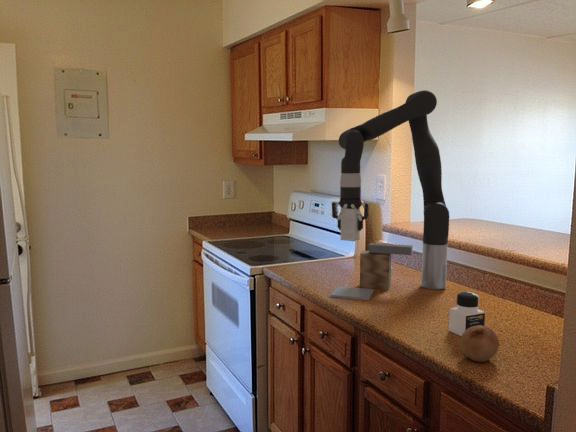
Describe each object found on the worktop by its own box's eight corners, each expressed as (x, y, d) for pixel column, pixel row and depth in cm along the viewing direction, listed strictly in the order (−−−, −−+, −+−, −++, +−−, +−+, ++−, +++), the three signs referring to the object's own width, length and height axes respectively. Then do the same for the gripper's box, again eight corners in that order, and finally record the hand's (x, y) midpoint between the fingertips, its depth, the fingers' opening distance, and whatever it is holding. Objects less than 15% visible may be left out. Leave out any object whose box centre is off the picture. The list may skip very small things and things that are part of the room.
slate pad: (373, 291, 201) (374, 289, 201) (368, 300, 189) (368, 298, 189) (337, 288, 205) (337, 286, 205) (330, 296, 194) (330, 294, 194)
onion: (478, 376, 135) (476, 348, 130) (453, 353, 142) (451, 326, 137) (507, 358, 137) (507, 330, 132) (481, 337, 145) (480, 310, 140)
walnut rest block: (390, 286, 208) (391, 252, 206) (388, 290, 202) (389, 255, 200) (362, 284, 211) (363, 250, 209) (359, 288, 205) (360, 253, 204)
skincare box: (359, 240, 198) (360, 208, 196) (354, 241, 195) (355, 209, 193) (345, 238, 201) (345, 207, 200) (340, 240, 198) (340, 208, 196)
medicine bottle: (465, 338, 152) (467, 298, 150) (448, 330, 158) (450, 291, 157) (484, 335, 155) (486, 295, 153) (467, 327, 161) (468, 289, 160)
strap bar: (412, 253, 202) (412, 245, 202) (411, 255, 199) (411, 247, 198) (370, 250, 207) (370, 243, 207) (368, 252, 204) (368, 244, 203)
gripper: (371, 185, 196) (371, 229, 199) (334, 184, 201) (333, 227, 203) (367, 186, 189) (367, 232, 192) (328, 185, 194) (328, 230, 196)
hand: (350, 229), depth 198 cm, fingers closed on skincare box, 6 cm apart
